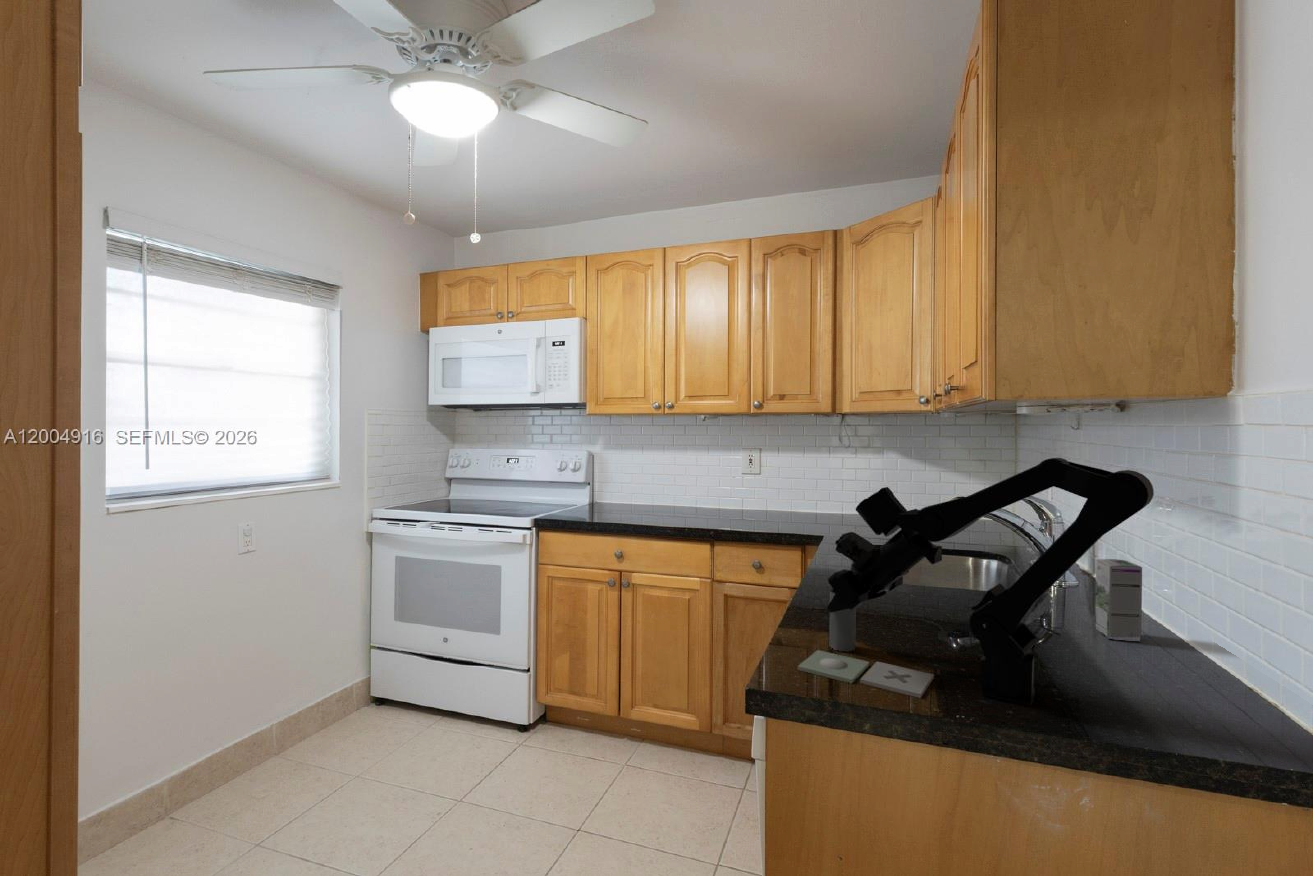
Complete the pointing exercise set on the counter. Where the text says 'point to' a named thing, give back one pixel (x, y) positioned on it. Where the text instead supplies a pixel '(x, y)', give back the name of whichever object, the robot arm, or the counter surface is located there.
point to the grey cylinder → (842, 628)
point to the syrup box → (1118, 598)
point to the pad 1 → (833, 666)
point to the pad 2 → (897, 679)
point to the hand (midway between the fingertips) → (835, 607)
